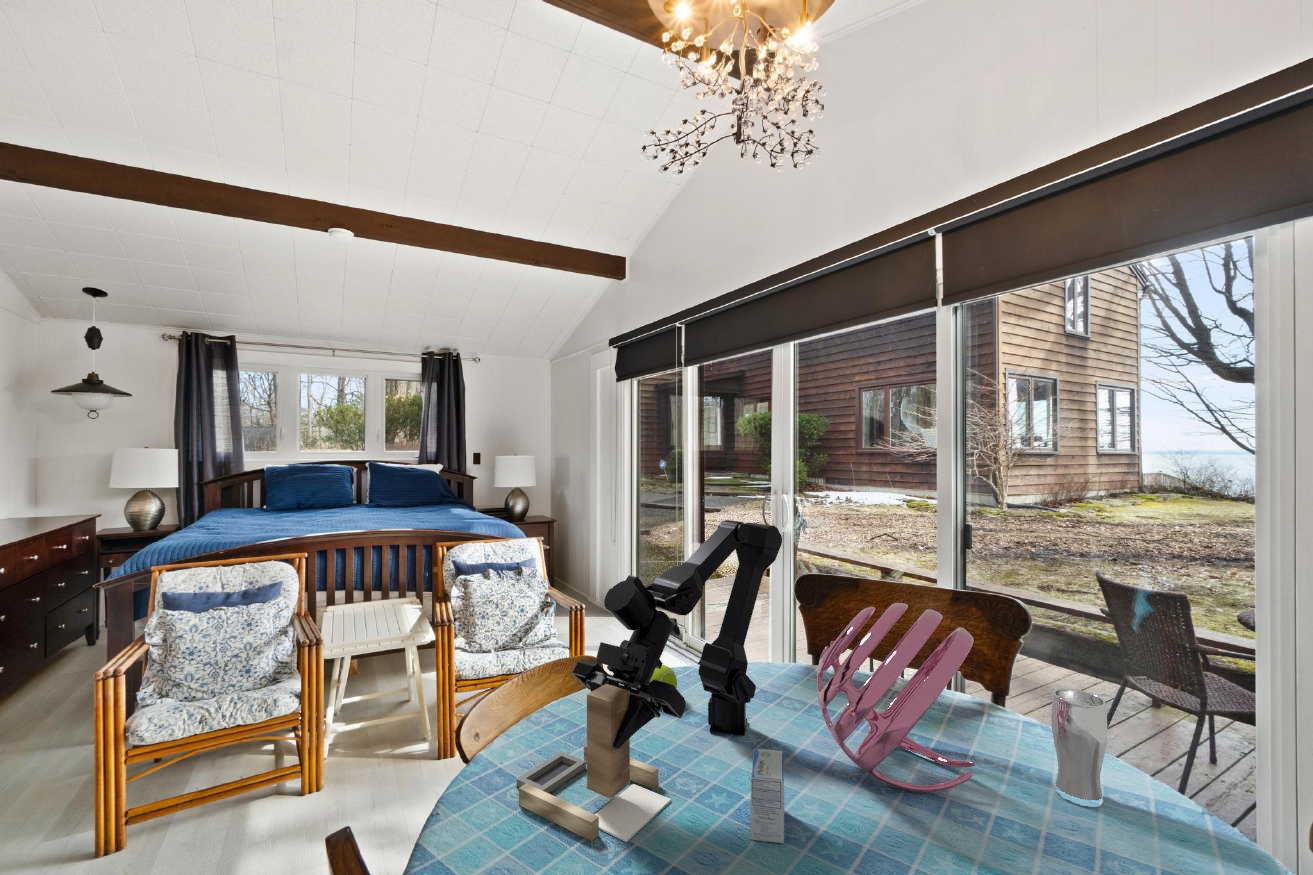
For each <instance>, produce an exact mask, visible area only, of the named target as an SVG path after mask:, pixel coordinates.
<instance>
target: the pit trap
mask: <svg viewBox="0 0 1313 875" xmlns="http://www.w3.org/2000/svg"><path fill="white" fill-rule="evenodd" d="M585 770H587V762H586V761H584V759H582V758H579V757H577V756H574V755H571V754H569V753H566V752H564V751H559V752H558V753H556V754H554V755H553V756H551V757H550V758H548V759H547V760H545V761H543V762H542V763H540V764H539V765H537V766H535V767H534V768H532V769H530V770H529V771H527V772H526V773H524V774H522V775H521V776H519V777H517V778H516V788H517V789H519V788H520V787H521V786H523V785H525V784H526V783H527V784H529V785H531V786H533V787H536V788H538V789H540V790H542V791H544V792H546V793H549V794H551V793H553V792H554V791H556V790H557V789H559V788H560V787H562V786H563V785H565V784H566V783H567V782H569V781H571V779H573V778H574V777H576V776H577V775H579V774H581V773H582V772H583V771H585Z"/></svg>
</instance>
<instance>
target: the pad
mask: <svg viewBox="0 0 1313 875" xmlns="http://www.w3.org/2000/svg"><path fill="white" fill-rule="evenodd" d="M671 802H672V799H671V798H670V797H666V796H665V795H662V794H660V793H657V792H654V791H652V790H649V789H647V788H646V787H645V788H644V787H642V786H640V785H637V784H634V783H632V784H631V785H630V786H628V787H626V789H625V790H624V791H621V793H620V794H619V795H616V797H615V798H613V799H611V801H609V803H607V804H606V805H605V806H603V807H602V808H601V809H599V810H598V811H597V813H595V814H594V815H596V816H598V817H599V831H602V832H604V833H605V834H608V835H611V836H612V837H614V838H616V839H618V840H620V841H623V842H625V843H628V842H629V841H630V840H631V839H632V838H633V837H634V836H635V835H636V834H637V833H638V832H639V831H640V830H642V828H643V827H645V826H646V825H647V824H648V823H649V822H650V821H652V819H653V818H655V817H656V816H657V815H658V814H659V813H660V812H661V811H662V810H664V808H665V807H666V806H668V805H669V804H670V803H671Z"/></svg>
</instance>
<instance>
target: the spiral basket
mask: <svg viewBox="0 0 1313 875" xmlns="http://www.w3.org/2000/svg"><path fill="white" fill-rule="evenodd" d="M908 607H909V606H908V604H907V603H904V602H903V603H902V602H894V603H892V604H891V605H890V606H889V607H888V608H886V610H885V612H884V613H883V614H882V615H881V616H880V617H879V618H878V619H877V621H876V622H875V623H874V625H872V626H871V628H870V629H869V630H868V631H867V632H866V634H865V635H864V636H863V637H862V639H861V640H859V642H858V643H857V644H856V646H855V647H854V648H853V650H851V652H850V654H849V655H848V656H847V657H846V658H845V659H844V661H842V663H840V657H841V654H842V653H843V652H844V651H845V650H846V648H848V646H849V645H850V643H851V642H852V641H853V640H854V639H855V638H856V637H857V635H858V634H859V632H860V631H861V630H862V628H863V627H864V626H865V624H866V623H867V622H868V621H869V619H870V618H871V617H872V615H873V614H874V612H875V610H876V608H875V606H869V607H866V608H864V609H862V610H860V612H858V613H857V615H856V616H855V617H853V618H852V620H851V621H850V622H849V624H847V625H846V626H845V628H844V629H843V630H842V631H841V633H839V635H838V637H837V638H836V639H835V640H832V641H830V646H828V645H826V646H825V647H824V648H823V649H822V650H823V651H822V653H821V654H820V658H819V661H818V667H817V673H816V690H817V699H818V704H819V707H820V711H821V714H822V718H823V720H824V722H825V725H826V727H827V729H828V731H829V733H830V735H831V736H832V738H833V739H834V741H835V743H836V744H837V746H838V747H839V748H840V749H841V750H842V751H843V754H845V755H846V756H847V758H849V759H850V760H851V761H852V762H853V764H855V766H857V767H858V768H860V769H861V770H862V771H864V772H865V773H866V774H868V775H870V776H871V777H873V778H874V779H876V780H878V781H880V782H882V783H884V784H886V785H888V786H891V787H894V788H897V789H900V790H904V791H910V792H915V793H916V792H917V793H935V792H941V791H946V790H949V789H952V788H955V787H958V786H960V785H963V784H964V783H966V782H967V781H969V780H970V779H971V778H972V777H973V775H974V774H973V772H972V771H967V772H966V773H964V774H962V775H960V776H958V777H956V778H953V779H951V780H948V781H946V782H945V781H944V782H941V783H936V784H926V785H925V784H912V783H908V782H907V783H906V782H903V781H902V782H901V781H900V780H899V781H898V780H896V779H894V778H893V779H892V778H889V777H888V776H885V775H883V774H881V773H879V772H878V771H876V770H875V768H877V767H878V766H879V765H880V764H881V763H882V762H883V761H884V760H885V759H887V757H888V756H889V755H890V754H891V753H892V752H893V751H894V750H895V749H896V748H897V747H900V748H902V749H903V748H904V749H903V750H905V749H907V750H910V751H912V752H914V753H918V754H921V755H923V756H926V757H928V758H930V759H932V760H934V761H935V762H938V763H941V764H943V765H942V766H945V765H946V767H950V768H951V767H953V768H972V767H975V766H976V764H975V762H974V761H970V760H960V759H955V758H951V757H948V756H945V755H942V754H939V753H937V752H936V751H933V750H931V749H929V748H928V747H925V746H923V745H921V744H920V743H918V742H916V741H915V740H913V739H911V738H910V737H909V736H908V735H909V733H910V732H911V731H912V730H913V729H914V727H915V726H916V725H917V724H918V723H919V721H920V720H922V718H923V716H925V714H926V713H927V712H928V710H929V709H930V708H931V707H932V705H933V704H934V702H936V700H937V699H938V698H939V696H940V695H941V694H942V692H943V691H944V690H945V688H946V687H947V686H948V684H949V683H950V681H952V678H953V677H954V676H955V675H956V674H957V672H958V670H959V669H960V667H961V666H962V664H963V663H964V661H965V660H966V658H967V656H968V654H969V653H970V651H971V649H972V647H973V644H974V641H975V639H974V637H973V636H972V634H971V633H970V632H969V631H967V630H966V629H965V628H964V627H960V626H959V627H957V628H955V630H953V631H952V632H951V633H950V634H949V635H948V636H947V637H946V638H945V639H944V640H943V641H942V642H941V643H940V644H939V645H938V646H937V648H936V649H935V650H934V651H932V653H931V654H930V656H929V657H928V658H927V659H926V660H925V661H924V662H923V663H922V665H921V666H920V667H919V668H918V670H916V672H915V673H914V674H913V675H912V677H911V678H910V679H909V681H907V682H906V684H905V685H904V687H903V688H902V689H901V690H900V691H899V693H898V694H897V695H896V696H895V697H894V698H893V700H892V701H891V703H890V704H889V706H888V707H887V708H886V709H885V710H884V711H882V712H878V711H877V710H876V709H874V708H875V707H876V706H877V704H878V703H879V702H880V701H881V699H882V698H883V697H884V696H885V694H886V693H887V692H888V691H889V690H890V688H891V687H892V686H893V684H894V683H895V682H896V681H897V680H898V678H899V677H900V676H901V675H902V673H903V672H904V671H905V669H907V667H908V665H910V663H911V662H912V661H913V660H914V659H915V657H916V655H917V654H918V653H919V652H920V650H921V649H922V647H924V645H925V643H926V642H927V641H928V640H929V638H930V637H931V636H932V634H933V633H934V631H935V630H936V629H937V628H938V626H939V624H940V623H941V621H942V619H943V618H944V617H943V614H941V613H940V612H938V611H936V610H935V609H934V610H933V609H926V610H924V612H923V613H922V614H921V615H920V616H919V618H917V620H916V621H915V622H914V623H913V625H912V626H911V627H910V628H909V629H908V631H906V633H905V634H903V637H902V638H901V639H900V640H899V641H898V642H897V644H896V645H895V646H894V647H893V649H892V650H891V651H890V652H889V653H888V655H887V656H886V657H885V659H884V660H883V661H882V662H881V663H880V665H878V666H877V668H876V669H875V671H874V672H873V674H872V675H870V677H869V678H868V679H867V680H866V682H865V683H864V685H863V686H862V687H861V688H856V687H855V686H854V684H853V680H852V679H853V676H854V675H855V673H856V672H857V671H858V670H859V669H860V667H861V666H862V665H863V664H864V663H865V661H866V660H867V659H868V658H869V656H870V655H871V654H872V653H873V651H874V650H875V649H876V647H877V646H878V645H879V644H880V643H881V641H883V639H884V638H885V636H886V635H887V634H888V633H889V631H890V630H891V629H892V628H893V626H894V625H895V624H896V622H898V620H899V619H900V618H901V616H902V615H903V614H904V613H905V611H907V609H908ZM831 666H832V669H833V675H832V676H831V677H830V679H829V680H828V681H827V682H826V684H825V685H824V684H823V683H824V682H823V680H824V679H823V678H824V674H825V673H826V672H827V671H828V670H829V668H830V667H831ZM823 685H824V686H823ZM840 692H842V693H844V694H845V696H846V698H847V705H846V707H845V709H844V710H843V711H842V712H841V714H840V715H839V717H838V718H837V719H836V720H835V721H834V723H833V722H832V720H831V718H830V715H829V712H828V706H829V705H830V704H831V703H832V702H833V700H834V699H835V698H836V697H837V695H838V694H839V693H840ZM864 720H865V721H866V722H867V723H868V724H869V727H870V730H869V732H868V733H867V735H866V736H865V737H864V740H863V741H862V742H861V744H860V745H859V747H858V749H857V750H856V752H855V753H854V752H852V750H850V748H849V747H848V746H847V745H846V743H845V741H846V740H847V739H848V737H849V736H850V735H851V734H852V733H853V732H854V731H855V730H856V729H857V728H858V726H860V724H861V723H862V722H863V721H864ZM907 750H906V751H907ZM941 764H940V765H941Z"/></svg>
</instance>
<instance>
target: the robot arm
mask: <svg viewBox="0 0 1313 875" xmlns="http://www.w3.org/2000/svg"><path fill="white" fill-rule="evenodd" d="M782 537H783V536H782V533H780V531H779V528H778V527H777V526H775V525H771V524H762V523H756V522H755V523H754V522H746V523H745V522H743V521H738V520H730V519H725V520H722V521H721V522H720V523H719V524H718V527H717V529H716V530H715V531H714V532H713V533H712V534H710V536H709V537H708V538H707V539H706V540H705V541H704V542H703V543H702V544H701V545H700V546H699V547H698V548H697V550H696V551H694V553H692V554H691V555H690V556H689V557H688V558H687V560H685V561H684V562H683V563H682V564H679V565H678V566H675V567H673V568H669V569H667V570H665V572H663V573H662V574H661V575H659V576H658V577H656V578H655V579H654V581H653V582H652V583H651V584H648V585H646V586H645V585H644V584H643V582H642V580H641V579H640V578H639V577H638V576H636V575H631V574H629V575H628V576H627V577H626V579H625V580H622V581H619V582H618V583H616V584H615V585H613V586H612V588H609V590H608V591H607V593H606V594H605V597H604V600H603V602H604V607H605V608H606V610H607V611H608V612H609V614H611V615H612V616H613V617H614V618H615V619H616V620H617V621H618V622H619V623H620V624H621V625H622V626H623V627H624V628H625V629H627V630H628V631H632V633H631V635H630V638H629V640H627V639H623V640H622V641H621V642H620V645H619V646H618V645H613V644H610V643H605V642H604V641H603V642H601V641H600V642H599V645H598V649H597V654H596V658H595V662H594V661H590V660H586V659H581V660H578V661H577V662H576V664H575V665H574V668H573V669H572V671H571V675H572V676H573V677H574V678H575V679H576V680H577V681H578V682H579V683H580V684H582V685H583V686H584V688H585V689H588V690H589V691H590V692H592V691H594V690H596V689H597V688H599V687H601V686H603V685H605V684H609V685H612V686H615V687H619V688H622V689H625V690H628V691H629V694H630V696H629V708H628V710H627V713H626V715H625V717H624V719H623V722H622V724H621V726H620V728H619V730H618V733H617V735H616V738H615V741H614V744H613V746H614V747H615V748H616V749H619V748H620V747H621V746H622V745H623V744H624V743H625V742H626V741H627V740H628V739H629V738H630V739H631V737H633V736H634V735H635V734H636V733H637V732H639V730H641V729H642V728H643V727H644V726H645V725H646V724H648V723H649V722H651V721H652V720H653V719H655V718H657V719H658V718H660V717H661V715H662V713H660V711H661V708H662V710H663V713H664V714H665V715H668V716H671V717H674V718H677V719H682V718H683V715H684V712H685V710H686V699H685V697H684V696H683V695H682V693H681V692H680V691H679V690H678V689H677V688H675V687H674V685H672V684H668V683H665V682H661V681H658V680H653V681H651V682H650V680H651V678H652V676H653V673H654V671H655V669H656V668H658V669H661V666H662V665H664V664H663V661H662V660H661V657H662V655H663V652H664V650H665V648H666V645H667V643H668V640H669V638H670V636H671V635H672V636H680V635H681V631H680V627H679V624H678V620H677V618H674V617H673V618H672V617H669V615H668V614H667V613H666V612H668V613H672V614H674V615H678V616H688V615H689V614H691V613H692V612H693V610H694V608H695V607H696V606H697V604H698V603H699V601H700V600H701V598H702V597H703V590H704V585H705V584H706V582H707V581H708V580H709V579H710V578H711V577H712V576H713V574H714V573H715V572H716V571H717V570H718V568H720V567H721V565H722V564H723V563H724V562H725V561H726V560H727V559H728V558H729V557H730V556H731V555H732V554H733V552H735V553H736V556H737V561H738V567H737V570H736V573H735V577H734V581H733V583H732V587H731V590H730V594H729V598H728V601H727V605H726V608H725V612H724V616H723V617H722V618H723V620H722V622H721V626H720V630H719V633H718V635H717V637H716V639H714V640H713V642H711V643H708V642H705V644H704V645H703V647H702V653H701V656H700V659H699V660H698V665H699V666H698V676H699V678H700V682H701V685H702V688H703V691H705V692H708V693H710V694H711V696H710V697H709V700H708V703H707V724H708V726H709V733H711V734H718V735H726V736H727V735H728V736H738V737H746V732H747V724H748V719H747V704H750V703H751V700H752V699H754V698H755V695H756V691H757V690H756V689H757V686H756V684H755V683H754V682H753V681H752V679H751V678H750V677H749V675H747V671H748V665H749V663H748V658H747V654H746V649H745V643H746V639H747V635H748V631H749V628H750V624H751V620H752V617H753V613H754V611H755V605H756V602H757V597H758V594H759V590H760V587H761V584H762V580H763V576H764V573H765V571H766V570H767V569H768V568H769V567H771V566H772V564H774V562H776V560H777V557H778V554H779V552H780V549H781V547H782V545H783V538H782ZM658 609H659V610H658ZM601 665H606V668H607V670H608V671H609V672H610V673H612V674H609V673H608V672H607V671H606V670H605V669H604V668H603V667H602V666H601Z"/></svg>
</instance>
